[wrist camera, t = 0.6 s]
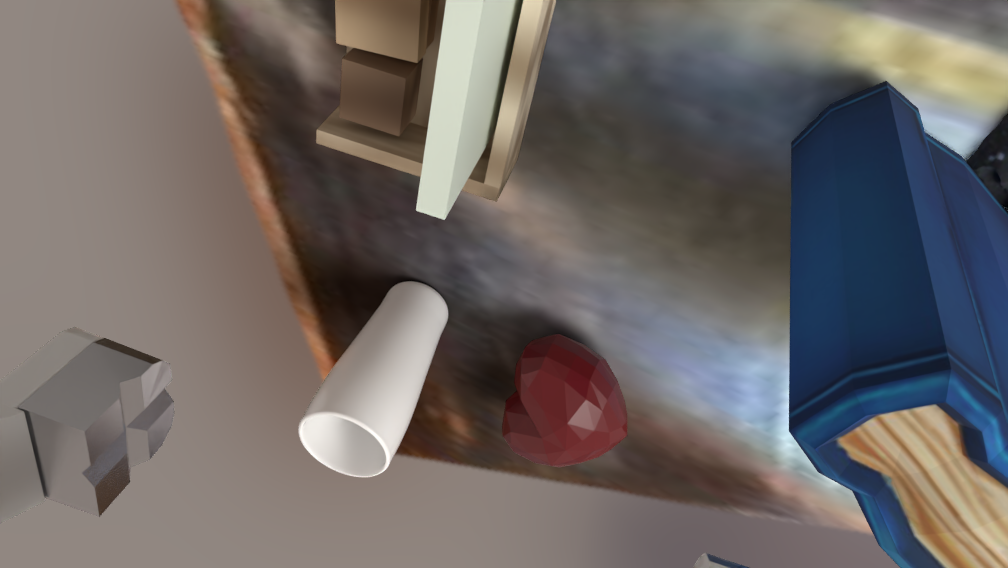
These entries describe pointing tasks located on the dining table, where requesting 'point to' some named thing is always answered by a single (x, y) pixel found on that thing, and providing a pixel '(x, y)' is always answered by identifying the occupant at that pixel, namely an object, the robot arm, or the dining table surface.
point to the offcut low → (432, 20)
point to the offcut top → (384, 26)
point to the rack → (411, 143)
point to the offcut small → (379, 90)
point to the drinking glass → (376, 384)
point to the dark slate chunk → (993, 162)
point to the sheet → (465, 96)
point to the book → (901, 331)
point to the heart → (563, 404)
